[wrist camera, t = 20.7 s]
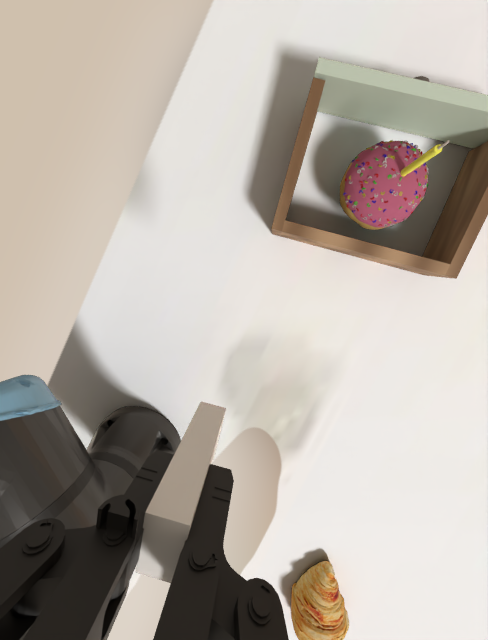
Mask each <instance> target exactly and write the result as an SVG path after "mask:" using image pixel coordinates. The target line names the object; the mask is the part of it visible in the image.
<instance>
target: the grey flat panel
mask: <svg viewBox="0 0 488 640" xmlns="http://www.w3.org/2000/svg"><path fill="white" fill-rule="evenodd" d="M314 78H318V79H322V80H326V81H325V84H324V88H323V92H322V95H321V99H320V103H319V107H318V110H317V111H318V112H322V113H326V114H331V115H335V116H339V117H343V118H347V119H352V120H356V121H360V122H364V123H368V124H373V125H377V126H381V127H385V128H389V129H394V130H398V131H402V132H406V133H410V134H415V135H419V136H423V137H427V138H431V139H436V140H440V141H444V142H446V141H448V140H449V143H452V144H457V145H461V146H465V147H469V148H473V149H474V148H476V147H478V146H480V145H481V144H483V143H485V142H487V141H488V95H485V94H480V93H476V92H472V91H467V90H463V89H458V88H454V87H449V86H445V85H440V84H436V83H432V82H429V79H428V78H426V77H423V76H419V77H415V78H409V77H405V76H400V75H396V74H391V73H387V72H383V71H378V70H374V69H369V68H365V67H360V66H356V65H351V64H347V63H343V62H338V61H334V60H329V59H325V58H320V57H319V60H318V63H317V67H316V71H315V75H314Z"/></svg>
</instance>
